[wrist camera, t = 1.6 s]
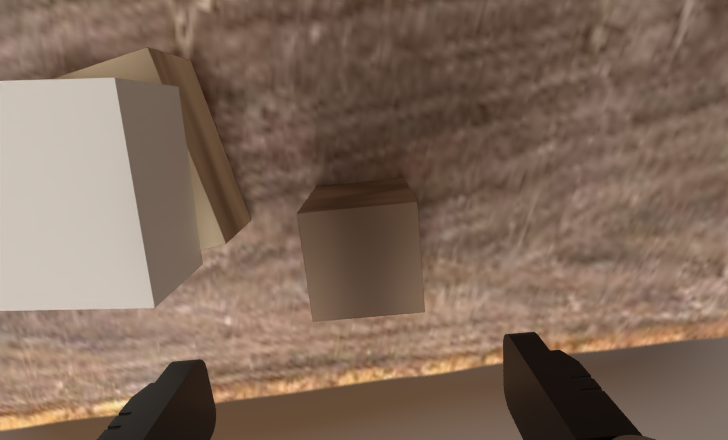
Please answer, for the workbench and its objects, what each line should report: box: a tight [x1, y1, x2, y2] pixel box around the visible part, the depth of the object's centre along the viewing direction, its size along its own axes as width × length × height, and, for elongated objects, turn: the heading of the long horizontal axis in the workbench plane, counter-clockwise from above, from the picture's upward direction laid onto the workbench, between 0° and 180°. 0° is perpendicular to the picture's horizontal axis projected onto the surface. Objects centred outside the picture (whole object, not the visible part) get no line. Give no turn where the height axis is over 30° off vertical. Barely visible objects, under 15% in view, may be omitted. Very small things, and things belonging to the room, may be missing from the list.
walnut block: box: [297, 178, 425, 322], centre depth 22 cm, size 6×6×7 cm
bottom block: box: [51, 47, 251, 251], centre depth 23 cm, size 10×10×5 cm
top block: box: [0, 78, 203, 311], centre depth 18 cm, size 9×9×5 cm
